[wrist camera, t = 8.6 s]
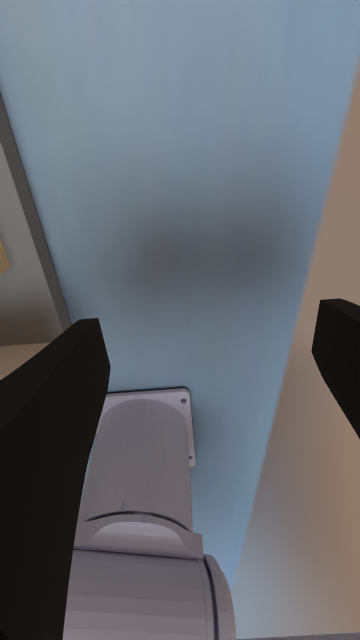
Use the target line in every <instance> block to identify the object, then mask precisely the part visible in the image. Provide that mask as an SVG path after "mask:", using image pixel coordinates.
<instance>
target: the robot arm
mask: <svg viewBox="0 0 360 640" xmlns="http://www.w3.org/2000/svg"><path fill="white" fill-rule="evenodd" d="M312 354H313V356H314V359H315V361H316V364H317V366H318V369H319V371H320V373H321V375H322V377H323V379H324V381H325V383H326V384H327V386H328V388H329V389H330V391H331V393H332V394H333V396H334V397H335V399H336V400H337V402H338V404H339V406H340V407H341V409H342V411H343V412H344V414H345V415H346V417H347V419H348V420H349V422H350V424H351V425H352V427H353V429H354V430H355V432H356V433H357V435H358V437H359V439H360V306H359V305H356V304H354V303H351V302H349V301H346V300H343V299H327V300H320V304H319V310H318V316H317V322H316V327H315V333H314V340H313V345H312ZM109 375H110V363H109V359H108V355H107V351H106V347H105V343H104V339H103V335H102V331H101V327H100V323H99V319H98V318H93V319H81V320H78V321H77V322H76V323H74V324H73V325H72V326H70V327H69V328H68V329H66V330H65V331H64V332H63V333H62V334H60V335H59V336H58V337H57V338H55V339H54V340H53V341H52V342H51V343H49V344H48V345H47V346H46V347H44V348H43V349H42V350H41V351H39V352H38V353H37V354H36V355H34V356H33V357H32V358H30V359H29V360H28V361H26V362H25V363H24V364H22V365H21V366H20V367H18V368H17V369H15V370H14V371H13V372H11V373H10V374H9V375H7V376H6V377H4V378H3V379H1V380H0V640H360V633H344V634H325V635H308V636H290V637H272V638H255V639H254V638H253V639H236V630H235V618H234V610H233V604H232V598H231V593H230V589H229V586H228V583H227V580H226V577H225V575H224V573H223V572H222V570H221V569H220V567H219V565H218V563H217V561H216V560H215V558H214V557H213V556H211V555H206V554H203V542H202V535H201V534H198V533H193V526H192V506H191V487H190V467H194V466H195V465H196V460H195V449H194V438H193V427H192V416H191V405H190V394H189V391H188V390H187V389H184V388H181V389H168V390H155V391H142V392H128V393H115V394H107V390H108V383H109ZM182 399H185V400H182ZM95 434H97V439H96V443H95V447H94V451H93V455H92V459H91V463H90V467H89V471H88V475H87V479H86V483H85V487H84V491H83V495H82V490H83V484H84V479H85V473H86V468H87V464H88V459H89V455H90V452H91V448H92V445H93V441H94V438H95ZM81 496H82V500H81ZM80 501H81V504H80Z"/></svg>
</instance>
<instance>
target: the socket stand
mask: <svg viewBox="0 0 360 640" xmlns="http://www.w3.org/2000/svg"><path fill="white" fill-rule="evenodd" d="M70 326H72V324H71V321H70V318H69V315H68V311H67V308H66V305H65V302H64V299H63V295H62V292H61V289H60V286H59V282H58V279H57V276H56V273H55V269H54V266H53V263H52V260H51V257H50V253H49V250H48V247H47V244H46V240H45V237H44V234H43V231H42V228H41V224H40V221H39V218H38V215H37V211H36V208H35V205H34V202H33V198H32V195H31V192H30V189H29V186H28V182H27V179H26V176H25V173H24V169H23V166H22V163H21V160H20V157H19V153H18V150H17V147H16V144H15V140H14V137H13V134H12V131H11V127H10V124H9V121H8V118H7V115H6V111H5V108H4V105H3V102H2V98H1V95H0V380H1V379H3V378H4V377H6V376H7V375H9V374H10V373H11V372H13V371H14V370H15V369H17V368H18V367H20V366H21V365H22V364H24V363H25V362H26V361H28V360H29V359H30V358H32V357H33V356H34V355H36V354H37V353H38V352H39V351H41V350H42V349H43V348H44V347H46V346H47V345H48V344H49V343H51V342H52V341H53V340H54V339H55V338H57V337H58V336H59V335H60V334H62V333H63V332H64V331H65V330H66V329H68V328H69V327H70Z"/></svg>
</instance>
